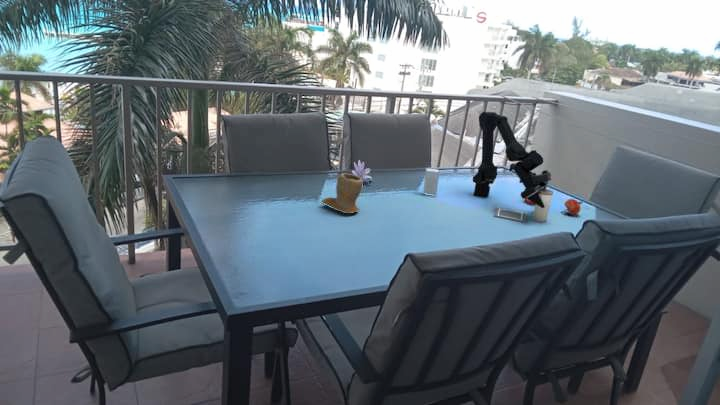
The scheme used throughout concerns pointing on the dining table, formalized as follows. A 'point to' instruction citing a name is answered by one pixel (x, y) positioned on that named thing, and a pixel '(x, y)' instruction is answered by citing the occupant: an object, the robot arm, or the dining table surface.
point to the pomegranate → (573, 206)
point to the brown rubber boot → (346, 193)
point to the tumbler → (542, 213)
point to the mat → (510, 215)
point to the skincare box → (431, 181)
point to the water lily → (361, 171)
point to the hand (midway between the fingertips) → (545, 206)
